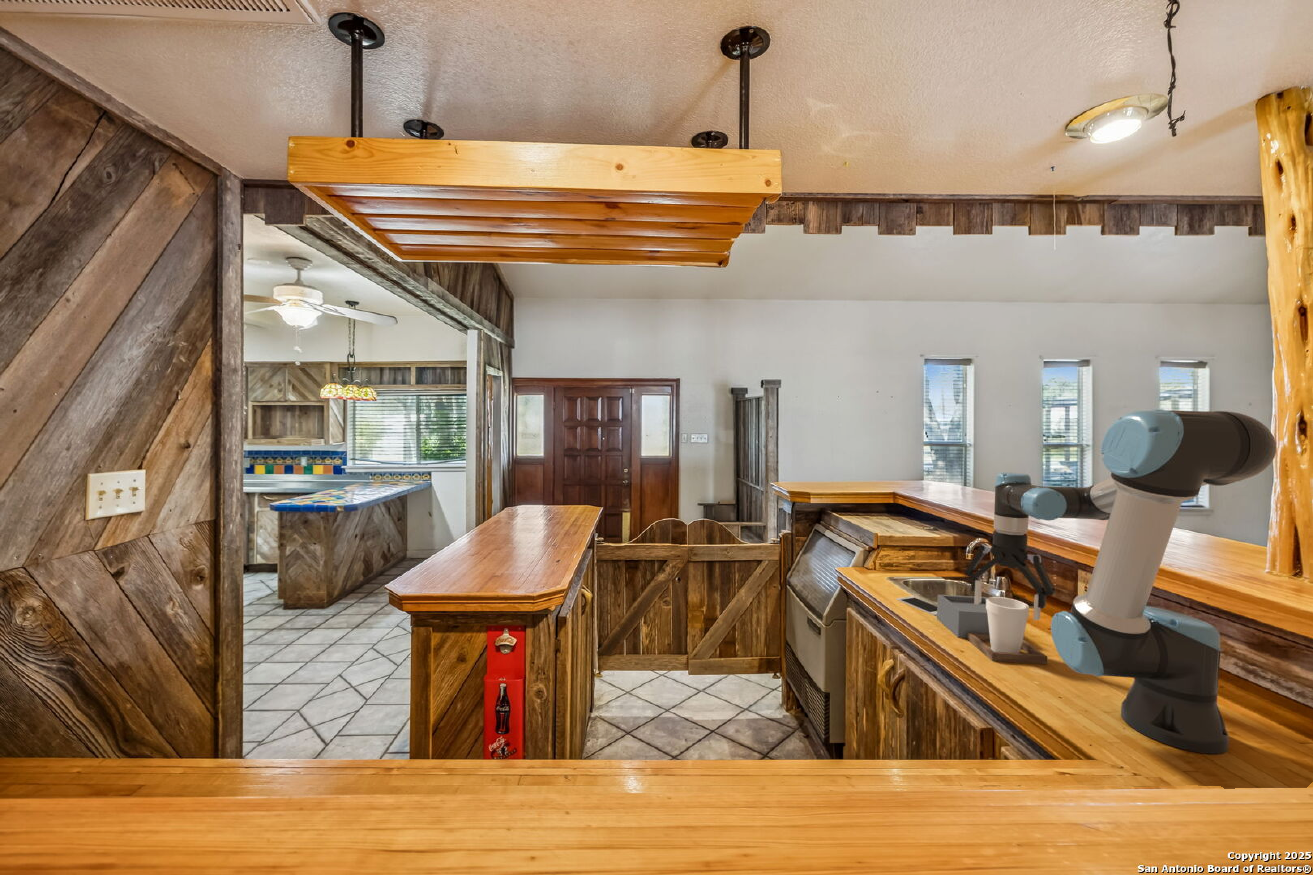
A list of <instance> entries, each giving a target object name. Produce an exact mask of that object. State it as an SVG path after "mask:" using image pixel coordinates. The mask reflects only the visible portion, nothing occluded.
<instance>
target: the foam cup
mask: <svg viewBox="0 0 1313 875" xmlns="http://www.w3.org/2000/svg"><path fill="white" fill-rule="evenodd" d="M986 609H987V615H988V624H989V634H990V642H989V644H990V648H991V649H992V650H993V651H994V652H1008V653H1021V652H1022V648H1021V647H1022V642H1023V640H1024V637H1025V632H1026V627H1027V622H1028V618H1029V616H1030V606H1029V605H1028V604H1027V603H1026V602H1025V603H1024V602H1023V601H1020V600H1017V599H1013V598H1009V597H1002V596H989V597H987V598H986Z"/></svg>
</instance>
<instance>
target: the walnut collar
mask: <svg viewBox="0 0 1313 875" xmlns="http://www.w3.org/2000/svg"><path fill="white" fill-rule="evenodd" d="M966 640H967V641H969V642H970V643H971V644H972V645H973V646H974V647H976V648H977V649H978V650H979V651H980V652H981V653H982V654H984V656H986V657H987V658H988V659H990V661H991V662H1005V663H1019V664H1021V663H1022V664H1034V665H1035V664H1036V665H1048V656H1047V655H1046V654H1045V653H1043V652H1042V651H1040V650H1038V649H1037V648H1036V647H1035V646H1033V645H1032V644H1031V643H1029V642H1028V641H1026V640H1025V639H1023V642H1022V647H1021V650H1023V651H1024V652H1026V653H1021V652H1020V653H1008V652H994V651H993V650H992V649H991V647H990V646H988V645H987V644H986V643H990V634H986V633H969V632H968V634H967V638H966Z"/></svg>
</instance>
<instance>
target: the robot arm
mask: <svg viewBox="0 0 1313 875" xmlns="http://www.w3.org/2000/svg"><path fill="white" fill-rule="evenodd" d="M1100 448H1101V449H1100V452H1101V454H1102V455H1103V457H1102V461H1103V464H1104V466H1105V467H1106V469H1107V470H1109V472H1111V473H1110V477H1109V478H1107V479H1105V480H1102V481H1100V482H1098V483H1095V484H1092V485H1090V486H1086V487H1081V486H1080V487H1079V486H1078V487H1077V486H1075V487H1073V486H1072V487H1071V486H1070V487H1069V486H1045V485H1044V486H1043V485H1042V486H1041V485H1034V484H1032V480H1031V476H1030V475H1029V474H1027V473H1026V474H1025V473H1021V472H1005V471H1004V472H999V473H997V475H996V480H995V486H994V490H995V491H994V513H993V529H994V530H993V532H992V546H989V545H987V544H985V543H982V544H979V546H978V550H977V553H976V554H975V556H974V557H973V559H972V560H971V562H970V563H969V564H968V566H967V567H966V569H965V570H964V572H963V574H964V576H968V577H970V579H971V583H970V584H971V586H970V589H971V591H974V597H975V598H974V604H979V603H981V597H982V594H983V593H982V592H983V590H982V589H983V579H982V578H981V576H982V575H984V574H985V573H987V572H988V571H989V570H990V569H992V568H993V567H994V566H996V565H997V564H998V565H1000V566H1001V567H1008V568H1011V569H1017V570H1018V571H1019V572H1021V574H1022V575H1023V576H1024V577H1025V579H1026V580H1027V582H1028V583H1029V584H1030V585H1031V586H1032V588H1033V589H1034V590H1035V592H1036V593H1035V594H1034V597H1033V598H1034V599H1033V600H1034V601H1033V615H1032V616H1033V619H1032V620H1033V621H1036V622H1037V621H1038V620H1040V619H1041V611H1042V610H1041V609H1044V608H1045V607H1046V604H1047V596H1053V595H1054V594H1056V593H1057V591H1056V589H1055V587H1054V584H1053V582H1052V581H1051V578H1050V576H1049V575H1048V573H1047V570H1046V569H1045V566H1044V564H1043V557H1042V555H1041V554H1038V553H1037V554H1029V553H1028V537H1029V536H1028V534H1026V533H1028V532H1029V519H1030V517H1031V518H1034V519H1036V520H1044V521H1050V522H1051V521H1055V520H1057V519H1079V520H1098V521H1107V524H1106V526H1105V531H1104V533H1103V537H1102V540H1101V543H1100V544H1101V545H1100V547H1099V551H1098V553H1097V557H1096V560H1095V563H1094V567H1093V570H1092V573H1091V576H1090V580H1089V583H1088V587H1087V589H1086V593H1083V594H1078V595H1077V596H1075V598H1074V599H1073V602H1072V604H1071V609H1070V611H1066V610H1063V611H1059V612H1056V613H1054V615H1053V616H1052V619H1051V623H1050V633H1051V638H1052V641H1053V644H1054V647H1055V649H1056V651H1057V654H1058V655H1059V656H1060V658H1061V659H1062V661H1063V662H1064V663H1065V665H1067V667H1068V668H1070V669H1071V670H1073V671H1074V672H1076V673H1078V674H1082V675H1089V676H1091V675H1092V676H1095V677H1098V678H1099V677H1121V678H1134V679H1133V682H1132V684H1131V686H1130V688H1129V690H1128V692H1127V695H1126V697H1125V699H1123V701H1122V702H1121V705H1120V716H1121V719H1122V720H1123V721H1124V722H1125V723H1126V724H1127V725H1128V726H1129V727H1130V728H1132V729H1134V730H1136V731H1137V732H1139V733H1140V734H1143V735H1144V736H1146V737H1149V738H1151V739H1153V740H1155V741H1158V742H1159V743H1162V744H1165V745H1167V746H1171V747H1175V748H1178V749H1181V750H1185V751H1190V752H1194V753H1201V754H1211V755H1213V754H1214V755H1215V754H1216V755H1217V754H1223V753H1226V752H1228V750H1229V744H1230V737H1229V732H1228V731H1227V729H1226V726H1225V722H1224V720H1223V716H1222V713H1221V711H1220V708H1219V705H1218V691H1219V690H1218V689H1219V679H1220V678H1219V676H1220V664H1221V652H1222V648H1221V634H1220V632H1219V630H1218V629H1217V628H1216V627H1215V626H1214V625H1213V624H1211V623H1208V622H1206V621H1204V620H1202V619H1199V618H1196V617H1193V616H1190V615H1187V614H1184V613H1180V612H1177V611H1174V610H1169V609H1165V608H1162V607H1155V606H1148V605H1147V604H1148V601H1149V598H1150V595H1151V592H1152V590H1153V587H1154V584H1155V582H1156V578H1157V575H1158V573H1159V570H1160V566H1161V564H1162V561H1163V558H1164V556H1165V552H1166V549H1167V547H1168V545H1169V541H1170V538H1171V535H1172V533H1173V530H1174V527H1175V524H1176V521H1177V518H1178V515H1179V512H1180V509H1181V506H1182V504H1183V502H1184V501H1188V500H1191V499H1195V498H1197V496H1198V495H1199V493H1200V492H1201V491H1200V490H1201V488H1202V487H1204V486H1207V485H1209V486H1213V487H1214V486H1215V487H1217V486H1218V487H1222V486H1227V485H1230V484H1235V483H1237V482H1241V481H1243V480H1246V479H1250V478H1252V477H1254V476H1257V475H1259V474H1261V473H1262V472H1263V471H1265V470H1266V469H1267V468H1268V467H1269V466H1270V465H1271V464H1272V462H1273V461H1274V460H1275V457H1276V453H1277V442H1276V439H1275V436H1274V435H1273V433H1272V431H1271V430H1270V428H1268V427H1267V426H1266V425H1265V424H1263V422H1261V421H1259V420H1257V419H1256V418H1254V417H1251V416H1249V415H1247V414H1245V413H1244V414H1243V413H1240V412H1235V411H1225V410H1224V411H1222V410H1221V411H1220V410H1216V411H1210V410H1209V411H1202V410H1197V411H1195V410H1171V409H1170V410H1169V409H1167V410H1165V409H1163V408H1162V409H1151V410H1138V411H1136V410H1135V411H1131V412H1129V413H1126V414H1124V415H1123V416H1120V417H1119V418H1117V419H1115V421H1114V422H1113V423H1112V424H1110V426H1109V428H1107V430H1106V432H1105V434H1104V437H1103V439H1102V442H1101V447H1100ZM989 552H990V554H991V555H992V557H993V558H992V559H990V560H989V561H988V562H987V563H986V564H984V565H983V566H982V567H981V568H979V569H978V570H977V571H975V570H976V568H977V567H978V565H980V562H981V561H982V560H983V558H984V557H985V555H987V554H988V553H989ZM1027 560H1029V561H1030V562H1031V564H1033V567H1034V569H1035V571H1036V574H1037V575H1038V578H1039V579H1040V580H1039V579H1038V578H1037V577H1036V576H1035V574H1034V572H1032V570H1031V569H1030V568H1029V567H1030V566H1028V564H1027V563H1026V561H1027ZM974 571H975V572H974Z"/></svg>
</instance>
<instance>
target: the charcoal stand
mask: <svg viewBox="0 0 1313 875" xmlns="http://www.w3.org/2000/svg"><path fill="white" fill-rule="evenodd" d="M974 598H975V596H972V595H971V596H970V595H969V596H968V595H952V594H937V605H936V606H937V616H936V619H937V621H938V622H940V623H941V624H942V625H943V626H944V627H945V628H947V630H949V631H950V632H951V633H952V634H954V636H955V637H956V638H960V639H967V634H968V632H969V633H986V634H989V624H988V615H987V609H986V598H988V597H987V596H981V603H979V604H974Z"/></svg>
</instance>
